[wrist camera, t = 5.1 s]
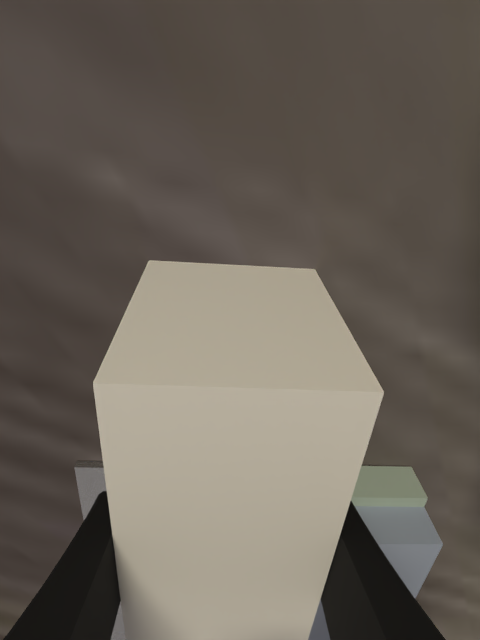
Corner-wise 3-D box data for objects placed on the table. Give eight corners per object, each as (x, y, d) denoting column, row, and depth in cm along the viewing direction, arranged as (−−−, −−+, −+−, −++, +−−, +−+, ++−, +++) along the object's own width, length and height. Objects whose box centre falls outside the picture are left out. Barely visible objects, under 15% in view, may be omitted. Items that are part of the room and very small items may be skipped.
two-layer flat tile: (262, 646, 23) (268, 715, 21) (299, 464, 16) (314, 535, 14) (341, 644, 24) (356, 712, 21) (411, 466, 17) (447, 535, 14)
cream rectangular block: (157, 486, 17) (127, 664, 11) (148, 259, 12) (91, 382, 7) (276, 488, 17) (302, 661, 12) (314, 268, 12) (385, 392, 7)
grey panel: (108, 648, 23) (94, 720, 20) (76, 461, 16) (47, 534, 13) (148, 648, 23) (138, 719, 20) (134, 462, 16) (117, 534, 13)
